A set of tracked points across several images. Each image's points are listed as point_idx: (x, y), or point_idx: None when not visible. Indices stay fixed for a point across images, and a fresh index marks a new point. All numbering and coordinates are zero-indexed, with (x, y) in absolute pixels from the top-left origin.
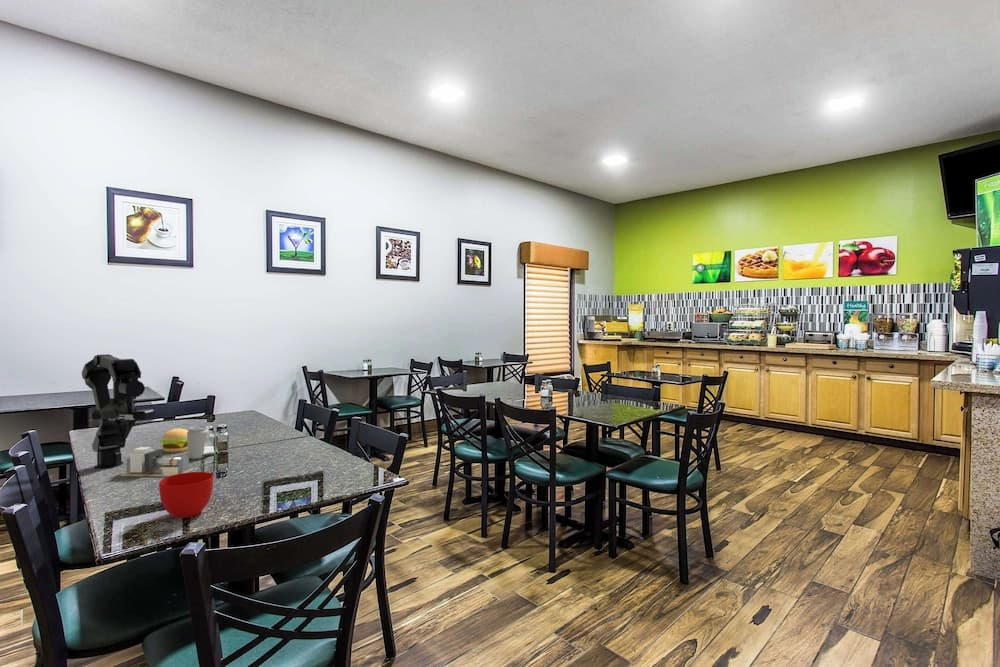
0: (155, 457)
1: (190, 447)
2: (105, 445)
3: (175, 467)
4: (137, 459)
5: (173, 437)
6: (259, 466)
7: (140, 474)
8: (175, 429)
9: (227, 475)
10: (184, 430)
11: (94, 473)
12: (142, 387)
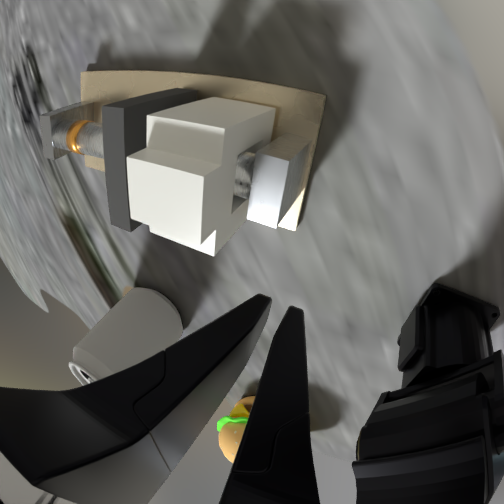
0: None
1: (135, 321)
2: (466, 378)
3: None
4: (193, 111)
5: None
6: (6, 166)
7: (214, 79)
8: None
9: (12, 93)
10: (226, 456)
11: (486, 208)
12: None
